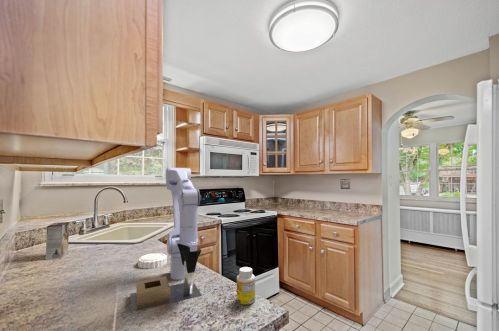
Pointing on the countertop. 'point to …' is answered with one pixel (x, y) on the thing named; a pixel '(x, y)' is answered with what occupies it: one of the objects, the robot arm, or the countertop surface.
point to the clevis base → (173, 294)
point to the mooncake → (152, 260)
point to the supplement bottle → (245, 286)
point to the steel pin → (188, 281)
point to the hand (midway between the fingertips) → (188, 268)
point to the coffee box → (57, 240)
